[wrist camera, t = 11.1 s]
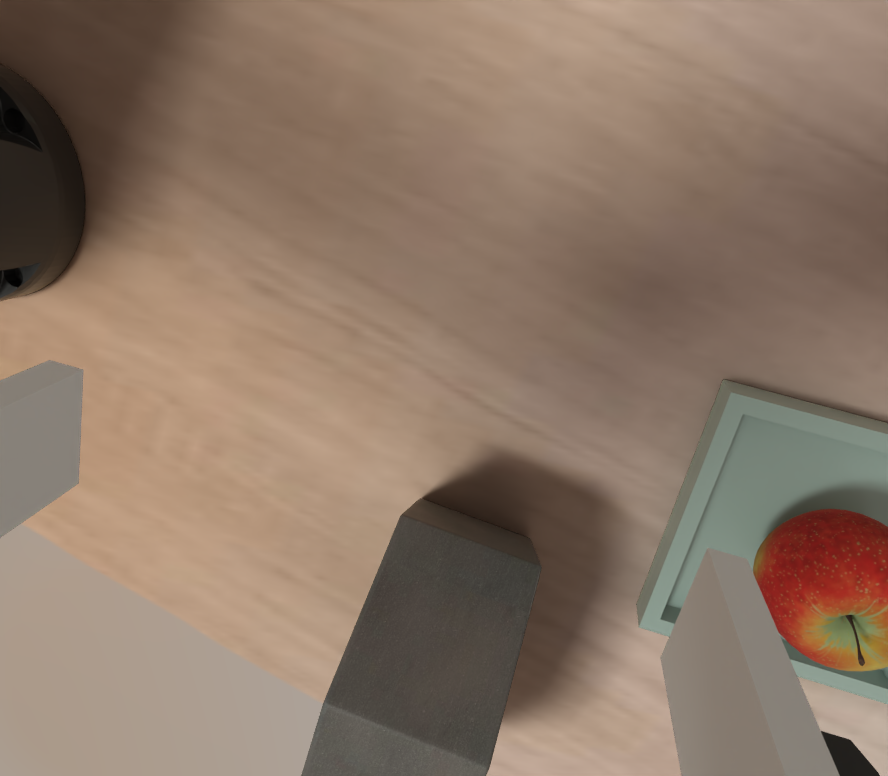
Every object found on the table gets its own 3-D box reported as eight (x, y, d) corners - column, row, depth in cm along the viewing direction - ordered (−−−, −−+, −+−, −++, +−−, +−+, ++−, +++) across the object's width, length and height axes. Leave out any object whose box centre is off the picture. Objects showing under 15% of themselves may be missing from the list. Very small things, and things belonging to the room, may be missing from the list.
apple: (920, 556, 41) (1018, 675, 31) (793, 623, 43) (850, 750, 34) (837, 453, 40) (913, 544, 30) (713, 528, 43) (748, 632, 33)
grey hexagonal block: (435, 431, 40) (263, 845, 28) (565, 478, 39) (448, 923, 27) (407, 549, 53) (285, 859, 41) (504, 585, 53) (408, 911, 41)
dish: (636, 604, 46) (638, 627, 44) (723, 379, 40) (731, 392, 38) (888, 681, 44) (904, 709, 42) (1015, 457, 39) (1041, 475, 36)
